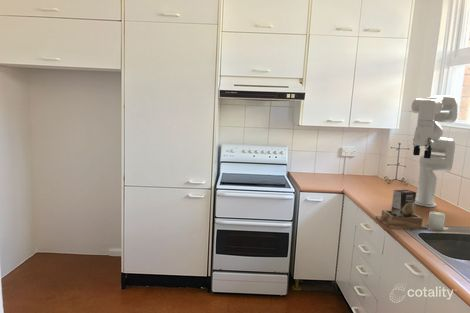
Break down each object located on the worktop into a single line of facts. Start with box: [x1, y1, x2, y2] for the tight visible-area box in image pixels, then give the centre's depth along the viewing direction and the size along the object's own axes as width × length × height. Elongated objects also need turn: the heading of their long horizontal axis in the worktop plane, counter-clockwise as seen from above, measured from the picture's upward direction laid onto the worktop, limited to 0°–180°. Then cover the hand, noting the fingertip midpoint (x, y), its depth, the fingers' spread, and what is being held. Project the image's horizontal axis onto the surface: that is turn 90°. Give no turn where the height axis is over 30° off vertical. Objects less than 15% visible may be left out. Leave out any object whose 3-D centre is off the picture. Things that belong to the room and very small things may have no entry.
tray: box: [375, 209, 429, 230], centre depth 178 cm, size 16×19×5 cm
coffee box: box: [390, 189, 417, 217], centre depth 178 cm, size 9×6×16 cm
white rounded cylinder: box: [427, 211, 446, 230], centre depth 175 cm, size 7×7×7 cm
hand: (421, 156), depth 181 cm, fingers open, 9 cm apart
